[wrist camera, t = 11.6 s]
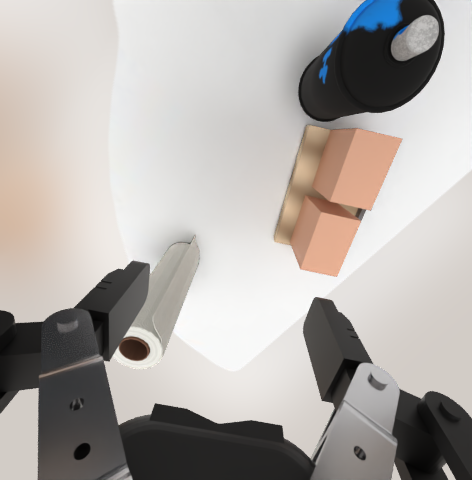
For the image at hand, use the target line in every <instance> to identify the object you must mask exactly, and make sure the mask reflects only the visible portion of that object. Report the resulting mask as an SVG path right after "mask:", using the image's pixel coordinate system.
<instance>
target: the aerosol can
mask: <svg viewBox="0 0 472 480" xmlns="http://www.w3.org/2000/svg"><path fill="white" fill-rule="evenodd" d="M444 35H445V33H444V22H443V19H442V15H441V12H440V10H439V8H438V6H437V4H436V3H435V1H434V0H366V1H365V2H363V3H362V4H361V5H360V6H359V7H358V8H357V9H356V10H355V11H354V13H353V14H352V15H351V17H350V18H349V20H348V21H347V23H346V24H345V26H344V28H343V30H342V31H341V32H340V34H339V35H338V36H337V37H336V38H335V39H334V40H333V41H332V42H331V44H330V45H329V46H328V47H327V48H326V49H325V50H324V51H323V52H322V53H321V55H320V56H318V57H316V58H315V59H314V60H313V61H312V62H311V63H310V64H309V65H308V66H307V67H306V69H305V71H304V72H303V74H302V77H301V79H300V83H299V92H298V93H299V100H300V104H301V106H302V108H303V110H304V111H305V113H306V114H307V115H308V116H310V117H311V118H313V119H315V120H317V121H322V122H328V121H333V120H336V119H338V118H340V117H343V116H349V115H354V114H359V113H364V112H370V113H382V112H387V111H391V110H394V109H396V108H398V107H401V106H402V105H404V104H405V103H407V102H409V101H410V100H411V99H413V98H414V97H415V96H416V95H417V94H418V93H419V92H420V91H421V90H422V89H423V88H424V87H425V85H426V84H427V83H428V82H429V80H430V79H431V77H432V75H433V74H434V72H435V70H436V68H437V65H438V63H439V61H440V58H441V54H442V50H443V46H444Z"/></svg>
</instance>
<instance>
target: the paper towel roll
mask: <svg viewBox="0 0 472 480" xmlns="http://www.w3.org/2000/svg"><path fill="white" fill-rule="evenodd" d="M195 236H196V235H195ZM195 236H194V238H193V240H192V242H191V244H188V243H183V242H180V243H175V244H173V245H172V246H170V247H169V249H168V250H167V252H166V253H165V254H164V256H163V257H162V259H161V260H160V262H159V263H158V264H157V266H156V267H155V269H154V270H153V272H152V273H151V274H150V276H149V288H148V295H147V299H146V301H145V304H144V305H143V307H142V309H141V310H140V312H139V313H138V315H137V317H136V318H135V320H134V322H133V323H132V325H131V327H130V328H129V330H128V331H127V333H126V335H125V336H124V338H123V340H122V341H121V343H120V345H119V346H118V348H117V349H116V351H115V353H114V354H113V356H112V357H113V358H114V359H115V360H116V361H117V362H119V363H120V364H123V365H125V366H127V367H130V368H135V369H144V368H150V367H152V366H154V365H156V364H158V363H159V361H160V360H161V358H162V357H163V355H164V352H165V350H166V347H167V344H168V342H169V339H170V336H171V334H172V331H173V329H174V326H175V324H176V321H177V318H178V316H179V313H180V311H181V308H182V305H183V303H184V300H185V298H186V295H187V292H188V290H189V287H190V285H191V282H192V279H193V277H194V274H195V272H196V269H197V266H198V264H199V249H198V246H197V244H196V240H195Z"/></svg>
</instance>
